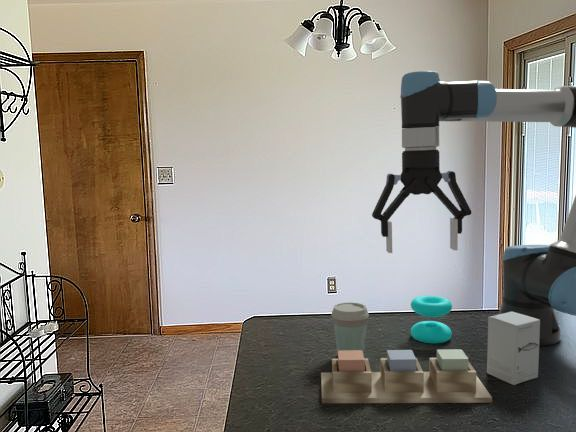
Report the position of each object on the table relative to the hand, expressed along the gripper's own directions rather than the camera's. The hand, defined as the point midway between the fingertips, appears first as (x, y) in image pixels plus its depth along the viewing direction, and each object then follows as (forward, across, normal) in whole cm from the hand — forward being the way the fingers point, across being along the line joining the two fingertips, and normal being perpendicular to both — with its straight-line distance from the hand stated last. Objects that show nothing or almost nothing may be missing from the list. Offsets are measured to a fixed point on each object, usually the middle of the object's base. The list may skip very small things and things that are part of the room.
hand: (421, 250), depth 115 cm
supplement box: (+27, -18, +4) cm, 32 cm away
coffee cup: (+26, +15, -8) cm, 31 cm away
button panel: (+26, +7, +9) cm, 28 cm away
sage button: (+23, -3, +9) cm, 25 cm away
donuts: (+27, -7, -19) cm, 34 cm away
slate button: (+23, +7, +9) cm, 26 cm away
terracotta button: (+23, +16, +8) cm, 29 cm away
